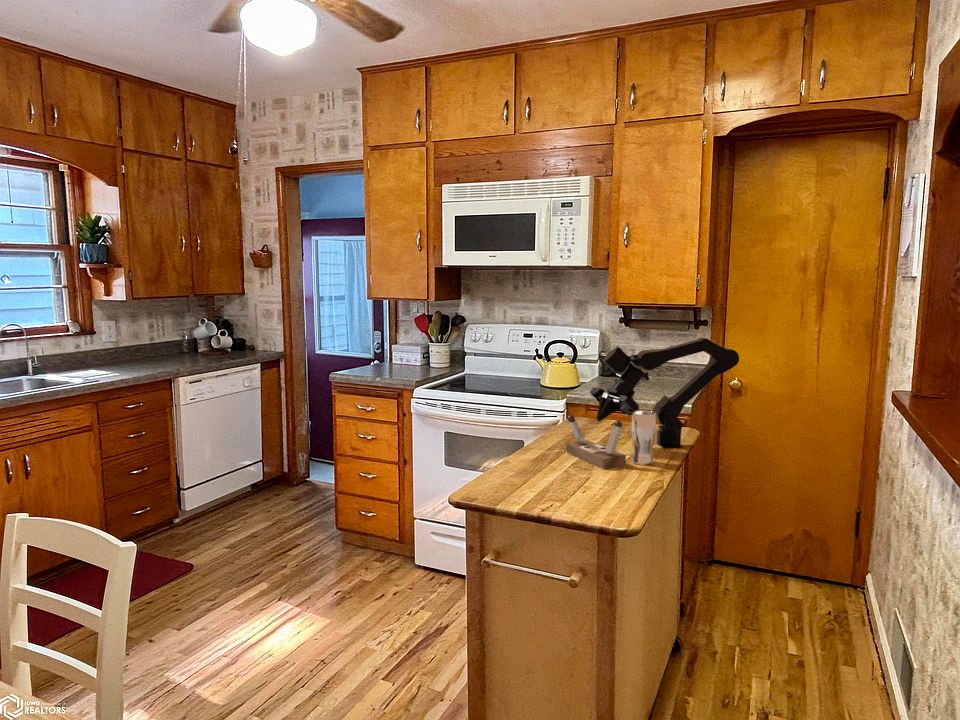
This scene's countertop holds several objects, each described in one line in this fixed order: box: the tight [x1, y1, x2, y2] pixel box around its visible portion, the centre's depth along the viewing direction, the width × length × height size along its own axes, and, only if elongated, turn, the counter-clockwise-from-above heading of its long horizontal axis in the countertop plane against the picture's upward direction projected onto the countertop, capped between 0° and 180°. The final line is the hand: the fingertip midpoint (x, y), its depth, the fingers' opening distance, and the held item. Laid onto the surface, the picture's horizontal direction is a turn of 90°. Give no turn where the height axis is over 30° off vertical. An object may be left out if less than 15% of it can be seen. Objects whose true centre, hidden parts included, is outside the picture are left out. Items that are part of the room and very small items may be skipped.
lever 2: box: [605, 420, 623, 454], centre depth 189 cm, size 2×3×10 cm
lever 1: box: [567, 414, 586, 444], centre depth 200 cm, size 2×3×10 cm
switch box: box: [565, 439, 627, 470], centre depth 196 cm, size 8×19×4 cm, turn 26°
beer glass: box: [631, 409, 657, 466], centre depth 191 cm, size 7×7×15 cm
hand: (598, 420), depth 204 cm, fingers closed
